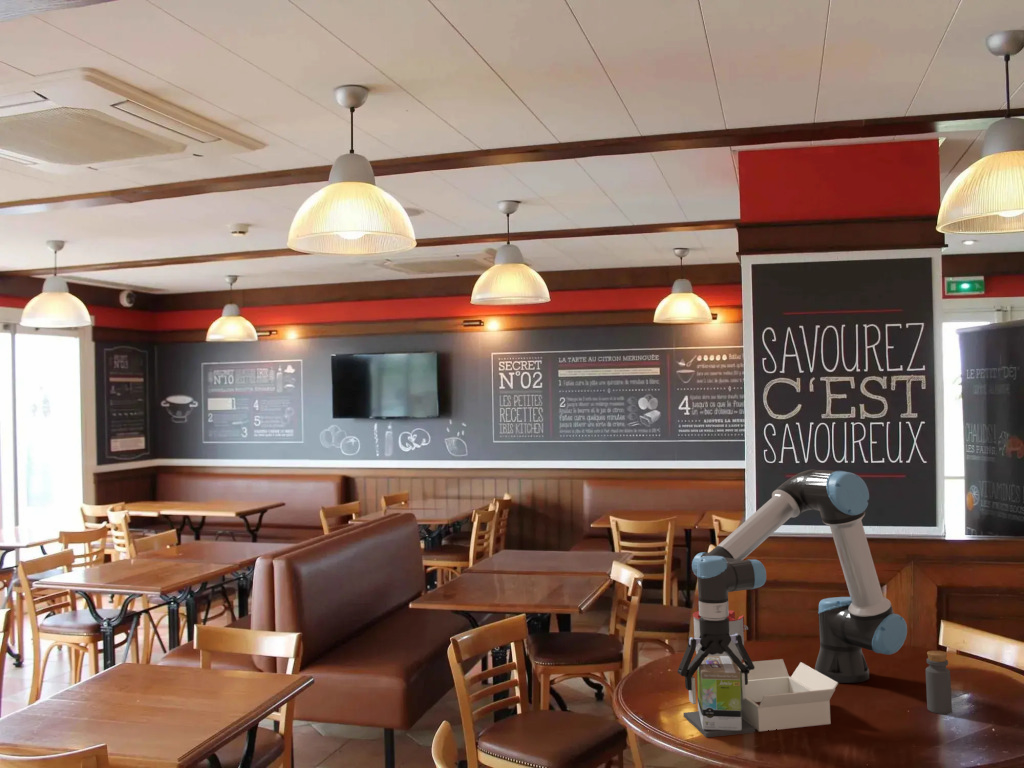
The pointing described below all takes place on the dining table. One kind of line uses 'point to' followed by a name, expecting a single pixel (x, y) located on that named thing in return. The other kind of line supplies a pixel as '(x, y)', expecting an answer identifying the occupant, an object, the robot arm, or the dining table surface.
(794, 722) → the carton
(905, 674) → the dining table surface
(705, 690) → the tea box
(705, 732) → the mat
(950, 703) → the bottle
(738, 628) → the citrus juicer
